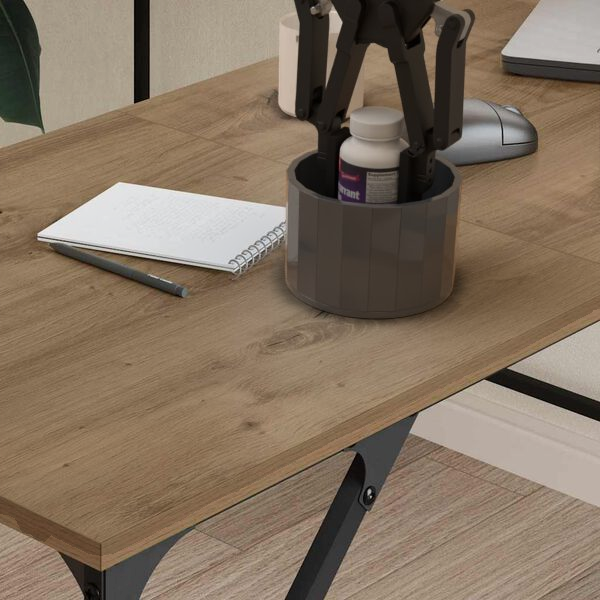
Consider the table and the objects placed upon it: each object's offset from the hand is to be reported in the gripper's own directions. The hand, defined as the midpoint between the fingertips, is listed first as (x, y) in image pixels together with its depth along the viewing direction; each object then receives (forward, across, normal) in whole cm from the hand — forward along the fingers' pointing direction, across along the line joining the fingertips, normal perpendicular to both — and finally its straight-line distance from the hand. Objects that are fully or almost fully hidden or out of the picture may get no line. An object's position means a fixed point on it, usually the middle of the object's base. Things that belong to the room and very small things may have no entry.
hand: (372, 219), depth 103 cm
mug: (+5, +24, -33) cm, 41 cm away
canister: (+5, 0, 0) cm, 5 cm away
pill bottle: (+2, 0, 0) cm, 2 cm away
